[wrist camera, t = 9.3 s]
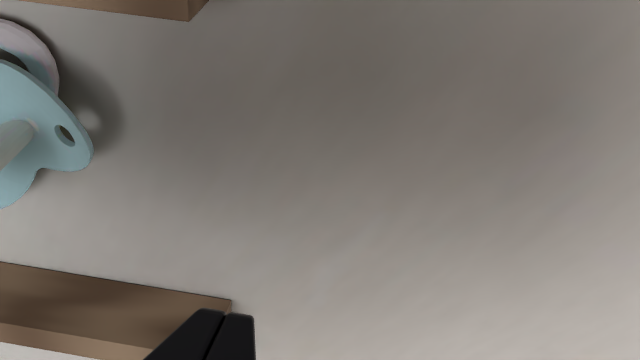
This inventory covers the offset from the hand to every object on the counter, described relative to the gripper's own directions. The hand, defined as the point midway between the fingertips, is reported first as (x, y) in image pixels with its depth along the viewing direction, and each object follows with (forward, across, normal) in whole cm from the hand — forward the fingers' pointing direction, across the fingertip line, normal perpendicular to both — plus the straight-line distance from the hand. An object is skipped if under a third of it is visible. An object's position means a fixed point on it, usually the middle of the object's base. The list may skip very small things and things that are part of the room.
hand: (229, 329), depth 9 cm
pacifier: (+11, +11, +3) cm, 16 cm away
